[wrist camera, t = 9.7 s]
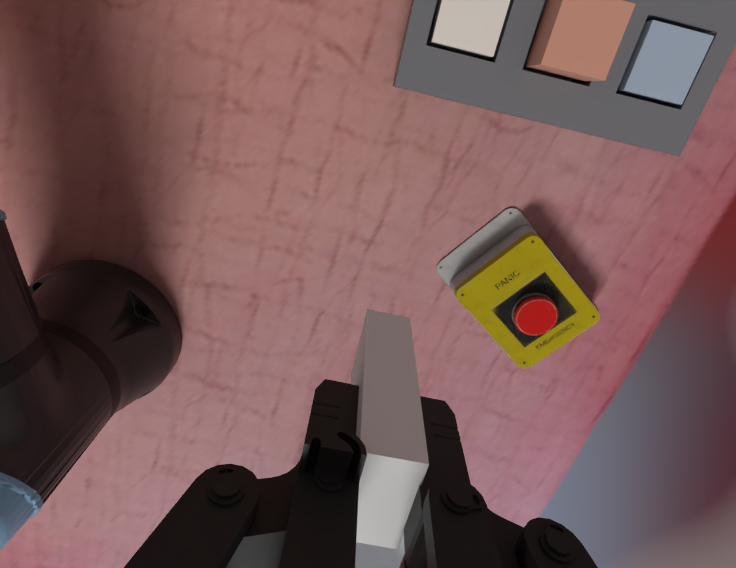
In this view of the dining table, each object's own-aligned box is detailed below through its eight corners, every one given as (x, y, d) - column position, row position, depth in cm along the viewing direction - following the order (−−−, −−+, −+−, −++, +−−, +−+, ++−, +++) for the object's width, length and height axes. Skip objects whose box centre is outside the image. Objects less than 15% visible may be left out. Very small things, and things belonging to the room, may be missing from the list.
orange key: (524, 66, 32) (540, 64, 29) (548, -4, 31) (567, -15, 27) (582, 81, 33) (605, 80, 29) (609, 12, 31) (635, 3, 28)
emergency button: (534, 390, 44) (436, 283, 39) (521, 364, 48) (431, 265, 43) (621, 335, 41) (526, 214, 37) (599, 312, 45) (512, 201, 41)
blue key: (601, 89, 35) (623, 89, 32) (627, 25, 33) (653, 19, 30) (654, 102, 35) (681, 104, 32) (682, 40, 34) (714, 36, 30)
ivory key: (427, 45, 34) (431, 41, 31) (443, -23, 32) (450, -34, 29) (482, 59, 34) (493, 56, 31) (502, -7, 33) (515, -17, 30)
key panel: (392, 86, 37) (394, 86, 32) (430, -79, 32) (437, -103, 28) (647, 148, 38) (679, 156, 34) (716, -1, 34) (763, -13, 30)
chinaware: (280, 467, 54) (265, 525, 46) (404, 446, 52) (408, 503, 45) (315, 551, 59) (306, 614, 52) (428, 535, 58) (435, 598, 51)
